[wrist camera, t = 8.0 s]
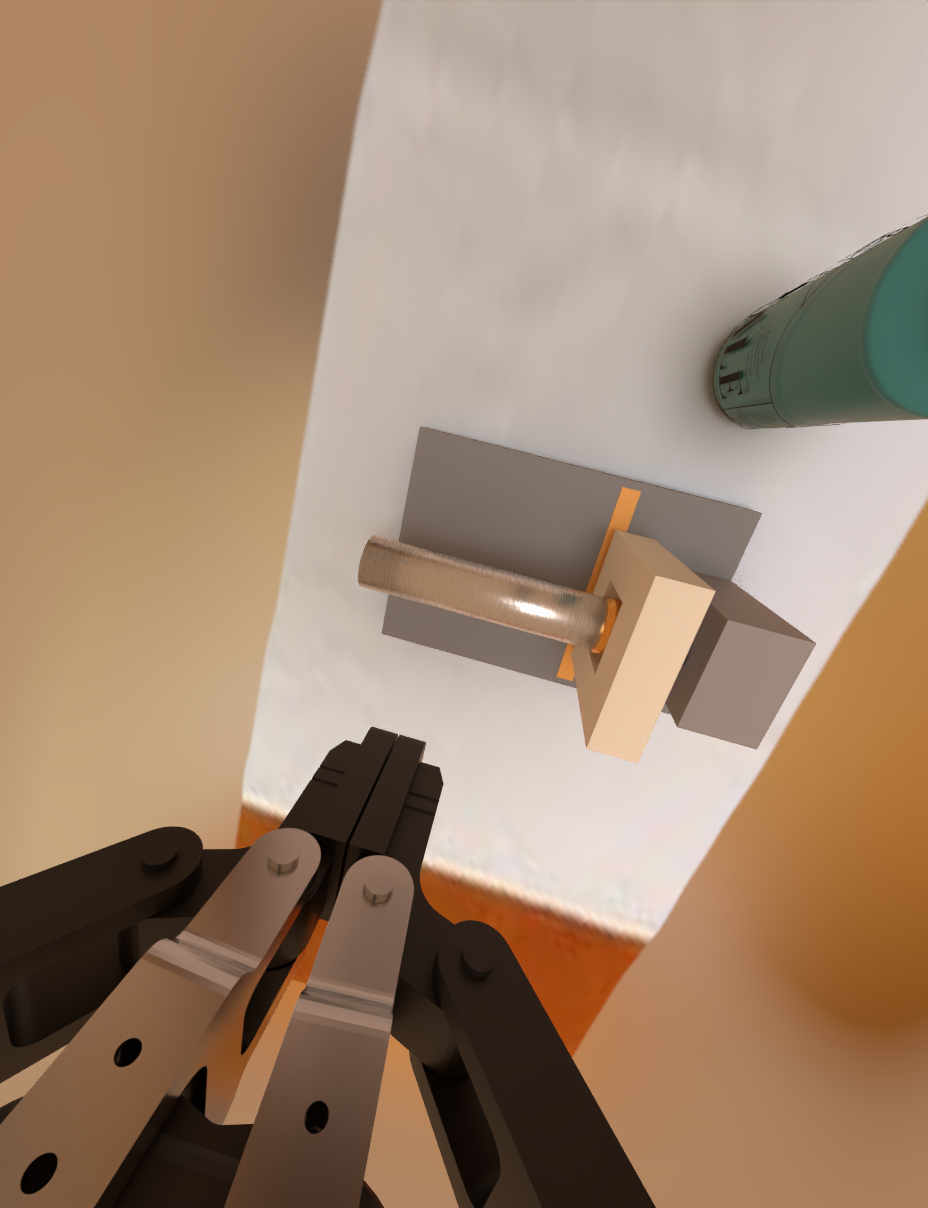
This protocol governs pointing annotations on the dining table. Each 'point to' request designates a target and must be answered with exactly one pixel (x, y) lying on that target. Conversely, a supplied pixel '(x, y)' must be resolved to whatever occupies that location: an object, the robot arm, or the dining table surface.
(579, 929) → the dining table surface
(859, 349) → the beverage bottle
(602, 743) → the beige rectangular block
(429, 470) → the mount board
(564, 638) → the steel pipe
